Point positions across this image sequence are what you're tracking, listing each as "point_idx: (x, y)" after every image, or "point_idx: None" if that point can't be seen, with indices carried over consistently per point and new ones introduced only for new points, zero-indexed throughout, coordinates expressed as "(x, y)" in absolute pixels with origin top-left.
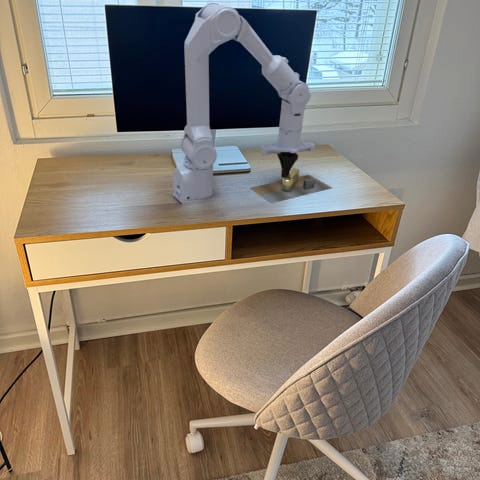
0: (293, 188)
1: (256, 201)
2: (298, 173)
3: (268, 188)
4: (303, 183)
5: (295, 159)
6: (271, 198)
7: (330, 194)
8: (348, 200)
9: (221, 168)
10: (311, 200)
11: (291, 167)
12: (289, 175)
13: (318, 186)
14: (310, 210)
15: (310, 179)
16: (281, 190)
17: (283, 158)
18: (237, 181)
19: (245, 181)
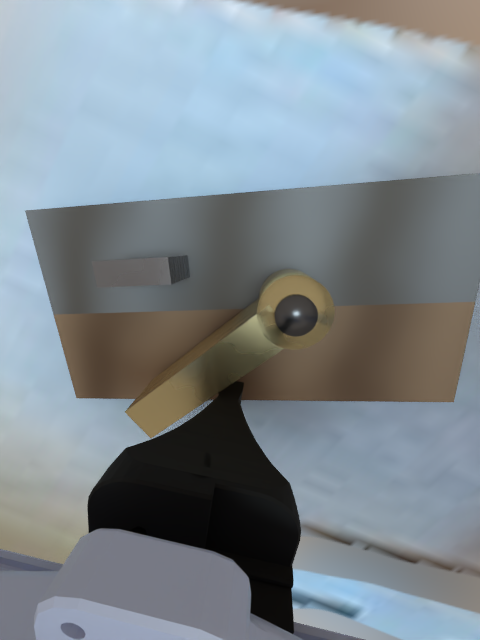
0: (239, 297)
1: None
2: (144, 391)
3: (366, 354)
4: (180, 280)
5: (154, 451)
6: (447, 235)
7: (67, 201)
8: (5, 88)
9: (368, 593)
10: (199, 178)
11: (199, 414)
12: (243, 359)
13: None
14: (281, 52)
15: (124, 273)
16: None
17: (296, 514)
18: (394, 492)
19: (362, 478)
